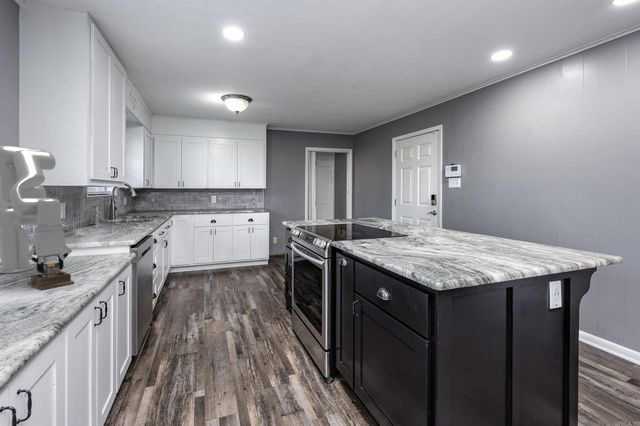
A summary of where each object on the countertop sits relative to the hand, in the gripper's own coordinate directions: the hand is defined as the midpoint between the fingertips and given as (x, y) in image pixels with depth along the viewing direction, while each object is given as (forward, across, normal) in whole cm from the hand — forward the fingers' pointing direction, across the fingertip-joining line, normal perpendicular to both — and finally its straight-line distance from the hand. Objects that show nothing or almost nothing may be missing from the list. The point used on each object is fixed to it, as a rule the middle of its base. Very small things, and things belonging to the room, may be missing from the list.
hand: (50, 270), depth 130 cm
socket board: (+6, 0, 0) cm, 6 cm away
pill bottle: (+4, 0, 0) cm, 4 cm away
